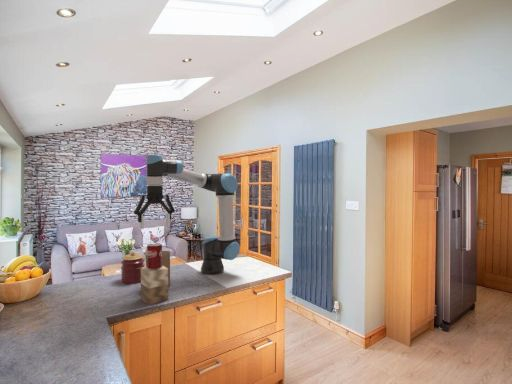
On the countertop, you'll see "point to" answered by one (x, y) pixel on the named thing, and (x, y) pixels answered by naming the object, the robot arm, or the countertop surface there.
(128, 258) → the canister
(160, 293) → the tower base
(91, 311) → the countertop surface
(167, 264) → the block
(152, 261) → the soda can
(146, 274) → the tower top
